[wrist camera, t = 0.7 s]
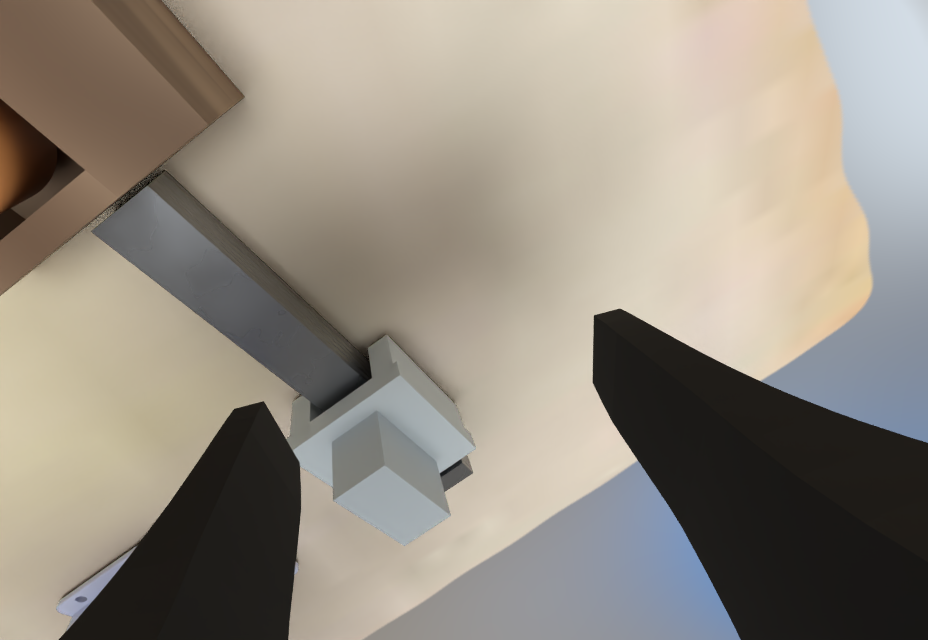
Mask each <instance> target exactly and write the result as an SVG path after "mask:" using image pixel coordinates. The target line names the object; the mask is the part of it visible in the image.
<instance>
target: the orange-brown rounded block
mask: <svg viewBox="0 0 928 640" xmlns="http://www.w3.org/2000/svg"><path fill="white" fill-rule="evenodd" d="M56 163H57V148H56V145H55V144H54V143H53V142H51V141H50V140H49V139H48V138H47V137H45V136H44V135H43V134H42V133H41V132H40V131H38V130H37V129H36V128H35V127H34V126H32V125H31V124H30V123H29V122H28V121H27V120H25V119H24V118H23V117H22V116H21V115H19V114H18V113H17V112H16V111H15V110H14V109H12V108H11V107H10V106H9V105H8V104H6V103H5V102H4V101H3V100H2V99H0V214H1V213H3V212H5V211H7V210H9V209H10V208H12V207H14V206H16V205H18V204H19V203H21V202H23V201H25V200H27V199H29V198H30V197H32V196H34V195H35V194H37V193H38V192H40V191H41V190H42V189H43V188H44V187H45V186H46V185H47V184H48V182H49V181H50V180H51V178H52V176H53V173H54V171H55V167H56Z"/></svg>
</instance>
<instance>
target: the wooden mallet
mask: <svg viewBox="0 0 928 640" xmlns="http://www.w3.org/2000/svg"><path fill="white" fill-rule="evenodd" d="M243 98H244V96H243V94H242V93H241V92H240V91H239V90H238V89H237V87H236V86H235V85H234V84H233V83H232V82H231V80H230V79H229V78H228V77H227V76H226V75H225V74H224V72H223V71H222V70H221V69H220V68H219V67H218V65H217V64H216V63H215V62H214V61H213V60H212V58H211V57H210V56H209V55H208V54H207V53H206V52H205V50H204V49H203V48H202V47H201V46H200V45H199V43H198V42H197V41H196V40H195V39H194V38H193V36H192V35H191V34H190V33H189V32H188V31H187V30H186V28H185V27H184V26H183V25H182V24H181V23H180V21H179V20H178V19H177V18H176V17H175V16H174V14H173V13H172V12H171V11H170V10H169V9H168V8H167V6H166V5H165V4H164V3H163V2H162V1H161V0H0V99H2V100H3V101H4V102H5V103H6V104H8V105H9V106H10V107H11V108H12V109H14V110H15V111H16V112H17V113H18V114H19V115H21V116H22V117H23V118H24V119H25V120H27V121H28V122H29V123H30V124H31V125H32V126H34V127H35V128H36V129H37V130H38V131H40V132H41V133H42V134H43V135H44V136H45V137H47V138H48V139H49V140H50V141H51V142H53V143H54V144H55V145H56V148H57V163H56V167H55V171H54V173H53V176H52V178H51V180H50V181H49V182H48V184H47V185H46V186H45V187H44V188H43V189H42V190H41V191H40V192H38V193H37V194H35V195H34V196H32V197H30V198H29V199H27V200H25V201H23V202H21V203H19V204H18V205H16V206H14V207H12V208H10V209H9V210H7V211H5V212H3V213H1V214H0V296H1V295H2V294H3V293H4V292H6V291H7V290H8V289H9V288H11V287H12V286H13V285H14V284H16V283H17V282H18V281H19V280H21V279H22V278H23V277H24V276H26V275H27V274H28V273H29V272H31V271H32V270H33V269H34V268H36V267H37V266H38V265H39V264H40V263H42V262H43V261H44V260H45V259H47V258H48V257H49V256H50V255H51V254H53V253H54V252H55V251H56V250H58V249H59V248H60V247H61V246H62V245H64V244H65V243H66V242H67V241H69V240H70V239H71V238H72V237H74V236H75V235H76V234H77V233H78V232H80V231H81V230H82V229H83V228H85V227H86V226H87V225H88V224H89V223H91V222H92V221H93V220H94V219H96V218H97V217H98V216H99V215H100V214H102V213H103V212H104V211H105V210H107V209H108V208H109V207H110V206H112V205H113V204H114V203H115V202H116V201H118V200H119V199H120V198H121V197H123V196H124V195H125V194H126V193H127V192H129V191H130V190H131V189H132V188H134V187H135V186H136V185H137V184H138V183H140V182H141V181H142V180H143V179H145V178H146V177H147V176H148V175H150V174H151V173H152V172H153V171H154V170H156V169H157V168H158V167H159V166H161V165H162V164H163V163H164V162H165V161H167V160H168V159H169V158H170V157H172V156H173V155H174V154H175V153H177V152H178V151H179V150H180V149H181V148H183V147H184V146H185V145H186V144H188V143H189V142H190V141H191V140H192V139H194V138H195V137H196V136H197V135H199V134H200V133H201V132H202V131H203V130H205V129H206V128H207V127H208V126H210V125H211V124H212V123H213V122H215V121H216V120H217V119H218V118H219V117H221V116H222V115H223V114H224V113H226V112H227V111H228V110H229V109H230V108H232V107H233V106H234V105H235V104H237V103H238V102H239V101H240V100H241V99H243Z"/></svg>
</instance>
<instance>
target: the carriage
mask: <svg viewBox="0 0 928 640" xmlns="http://www.w3.org/2000/svg"><path fill="white" fill-rule="evenodd" d="M368 353H369V360H370V367H371V373H372V378H371V379H370V380H369V381H367V382H366V383H364V384H363V385H362V386H360V387H359V388H357V389H356V390H355V391H353V392H352V393H350V394H349V395H347V396H346V397H345V398H343V399H342V400H340V401H339V402H338V403H336V404H335V405H333V406H332V407H331V408H329V409H328V410H326V411H325V412H323V411H322V410H320V409H319V408H318V407H316V406H315V405H314V404H313V403H311V402H310V401H309V400H307V399H306V398H305V397H304V396H300V397H299V398H297V399H296V400H295V401H293V403H292V416H291V428H290V437H288V438H287V439H286V440H287V442H288V443H289V445H290V447H291V448H292V450H293V452H294V454H295V455H296V457H297V459H298V460H299V462H300V467H302V468H303V469H305V470H307V471H308V472H310V473H311V474H313V475H314V476H316V477H317V478H319V479H320V480H322V481H323V482H325V483H326V484H328V485H329V486H331V487H332V488H333V501H334V502H336V503H337V504H339V505H341V506H342V507H344V508H345V509H347V510H348V511H350V512H352V513H353V514H355V515H356V516H358V517H360V518H361V519H363V520H364V521H366V522H367V523H369V524H371V525H372V526H374V527H375V528H377V529H378V530H380V531H382V532H383V533H385V534H386V535H388V536H389V537H391V538H393V539H394V540H396V541H397V542H399V543H400V544H402V545H404V546H405V545H407V544H408V543H410V542H412V541H413V540H415V539H416V538H418V537H419V536H421V535H422V534H424V533H425V532H427V531H428V530H430V529H431V528H433V527H434V526H436V525H437V524H439V523H440V522H442V521H443V520H445V519H447V518H448V517H450V516H451V514H450V511H449V507H448V503H447V499H446V496H445V492H444V488H443V485H442V481H441V477H440V473H441V472H442V471H444V470H445V469H447V468H448V467H450V466H451V465H453V464H454V463H456V462H457V461H459V460H460V459H462V458H463V457H465V456H466V455H468V454H469V453H471V452H472V451H474V450H475V449H476V446H475V444H474V441H473V438H472V436H471V433H470V432H469V431H468V430H466V429H465V428H464V425H463V422H462V420H461V417H460V414H459V411H458V409H457V406H456V405H455V403H454V402H453V401H452V400H451V399H450V398H449V397H448V396H447V395H446V394H445V393H444V392H443V391H442V390H441V389H440V388H439V387H438V386H437V385H436V384H435V383H434V382H433V381H432V380H431V379H430V378H429V377H428V376H427V375H426V374H425V373H424V372H423V371H422V370H421V369H420V368H419V367H418V366H417V365H416V364H415V363H414V362H413V361H412V360H411V359H410V358H409V357H408V356H407V355H406V354H405V353H404V352H403V351H402V350H401V349H400V347H399V346H398V345H397V344H396V343H395V342H394V341H393V340H392V339H391V338H390V337H389V336H388V335H385V336H384V337H382V338H381V339H380V340H378V341H377V342H375V343H374V344H373V345H371V346H370V347H368Z"/></svg>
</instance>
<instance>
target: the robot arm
mask: <svg viewBox="0 0 928 640" xmlns="http://www.w3.org/2000/svg"><path fill="white" fill-rule="evenodd" d="M593 384H594V386H595V388H596V390H597V392H598V394H599V397H600V399H601V401H602V403H603V405H604V407H605V409H606V410H607V412H608V414H609V416H610V418H611V420H612V422H613V423H614V425H615V426H616V428H617V430H618V431H619V433H620V434H621V436H622V437H623V439H624V440H625V442H626V443H627V445H628V446H629V448H630V449H631V451H632V452H633V454H634V455H635V457H636V458H637V460H638V461H639V462H640V464H641V465H642V467H643V468H644V470H645V471H646V473H647V474H648V476H649V477H650V479H651V480H652V482H653V483H654V485H655V486H656V487H657V489H658V490H659V492H660V493H661V495H662V497H663V498H664V499H665V501H666V502H667V504H668V505H669V507H670V509H671V510H672V512H673V513H674V515H675V517H676V518H677V520H678V521H679V523H680V525H681V526H682V528H683V530H684V532H685V533H686V535H687V537H688V539H689V541H690V543H691V544H692V546H693V548H694V550H695V552H696V553H697V556H698V557H699V559H700V561H701V563H702V565H703V567H704V569H705V570H706V572H707V574H708V576H709V578H710V580H711V582H712V583H713V586H714V588H715V590H716V591H717V593H718V595H719V597H720V599H721V601H722V603H723V605H724V607H725V609H726V611H727V612H728V614H729V617H730V618H731V621H732V623H733V625H734V626H735V628H736V631H737V633H738V635H739V637H740V639H741V640H928V443H926V442H923V441H920V440H916V439H913V438H910V437H907V436H904V435H900V434H897V433H895V432H891V431H889V430H885V429H883V428H879V427H877V426H873V425H870V424H867V423H864V422H861V421H858V420H856V419H853V418H850V417H847V416H845V415H842V414H839V413H836V412H833V411H831V410H828V409H826V408H823V407H821V406H818V405H816V404H813V403H811V402H808V401H805V400H803V399H800V398H798V397H795V396H793V395H790V394H788V393H785V392H783V391H781V390H779V389H776V388H774V387H771V386H769V385H767V384H765V383H763V382H761V381H758V380H756V379H754V378H752V377H750V376H748V375H746V374H743V373H741V372H739V371H737V370H735V369H733V368H731V367H729V366H727V365H725V364H723V363H721V362H719V361H717V360H715V359H713V358H711V357H709V356H707V355H705V354H703V353H701V352H699V351H697V350H695V349H694V348H692V347H690V346H688V345H686V344H684V343H682V342H681V341H679V340H677V339H675V338H673V337H671V336H670V335H668V334H666V333H664V332H662V331H661V330H659V329H657V328H655V327H653V326H652V325H650V324H648V323H646V322H644V321H643V320H641V319H639V318H637V317H635V316H633V315H632V314H630V313H628V312H626V311H624V310H622V309H617V310H613V311H609V312H605V313H601V314H597V315H594V339H593ZM300 514H301V482H300V462H299V460H298V459H297V457H296V455H295V454H294V452H293V450H292V448H291V447H290V445H289V443H288V442H287V440H286V438H285V437H284V435H283V433H282V431H281V430H280V428H279V426H278V425H277V423H276V421H275V420H274V418H273V416H272V414H271V413H270V411H269V409H268V408H267V406H266V404H265V403H264V401H263V402H259V403H255V404H252V405H248V406H244V407H240V408H236V409H234V410H233V411H232V413H231V414H230V415H229V417H228V418H227V420H226V421H225V423H224V424H223V425H222V427H221V428H220V430H219V431H218V433H217V434H216V436H215V437H214V439H213V440H212V442H211V443H210V445H209V446H208V448H207V449H206V451H205V452H204V454H203V455H202V457H201V458H200V460H199V461H198V463H197V464H196V465H195V467H194V468H193V470H192V471H191V473H190V474H189V476H188V477H187V478H186V480H185V481H184V483H183V484H182V486H181V487H180V489H179V490H178V491H177V493H176V494H175V496H174V497H173V499H172V500H171V501H170V503H169V504H168V506H167V507H166V508H165V510H164V511H163V512H162V514H161V515H160V516H159V518H158V519H157V520H156V522H155V523H154V524H153V526H152V527H151V528H150V530H149V531H148V532H147V534H146V535H145V536H144V538H143V539H142V540H141V541H140V543H139V544H138V545H137V546H136V547H134V548H133V549H131V550H130V551H129V552H127V553H126V554H124V555H123V556H122V557H120V558H119V559H117V560H116V561H115V562H113V563H112V564H110V565H109V566H108V567H106V568H105V569H103V570H102V571H100V572H99V573H98V574H96V575H95V576H93V577H92V578H91V579H89V580H88V581H86V582H85V583H84V584H82V585H81V586H79V587H78V588H76V589H75V590H74V591H72V592H71V593H69V594H68V595H67V596H65V597H64V598H62V599H61V600H60V601H59V603H58V605H57V607H56V610H57V611H58V612H59V613H61V614H65V615H68V616H71V617H72V618H71V621H70V623H69V625H68V628H67V630H66V632H65V633H64V634H63V636H62V637H61V638H60V639H59V640H288V635H289V620H290V610H291V601H292V592H293V582H294V575H295V574H296V573H297V572H298V566H299V565H298V563H297V562H296V554H297V545H298V535H299V525H300Z"/></svg>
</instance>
